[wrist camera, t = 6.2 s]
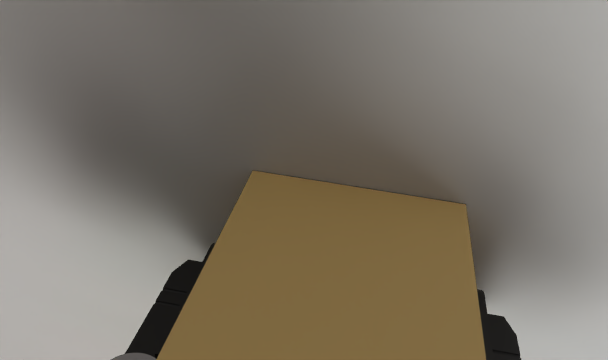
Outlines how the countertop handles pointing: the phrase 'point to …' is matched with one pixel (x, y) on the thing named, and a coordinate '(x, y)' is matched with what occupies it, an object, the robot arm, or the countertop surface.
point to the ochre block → (333, 279)
